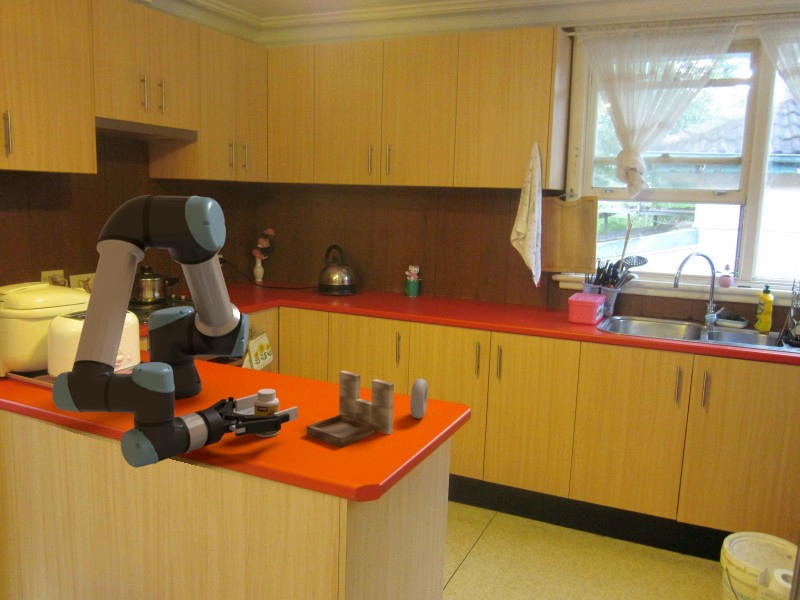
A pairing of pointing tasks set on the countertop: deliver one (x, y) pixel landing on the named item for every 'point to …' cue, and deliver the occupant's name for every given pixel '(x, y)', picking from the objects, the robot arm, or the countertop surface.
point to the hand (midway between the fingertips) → (277, 405)
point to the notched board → (367, 402)
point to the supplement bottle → (266, 407)
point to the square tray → (340, 430)
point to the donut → (419, 398)
